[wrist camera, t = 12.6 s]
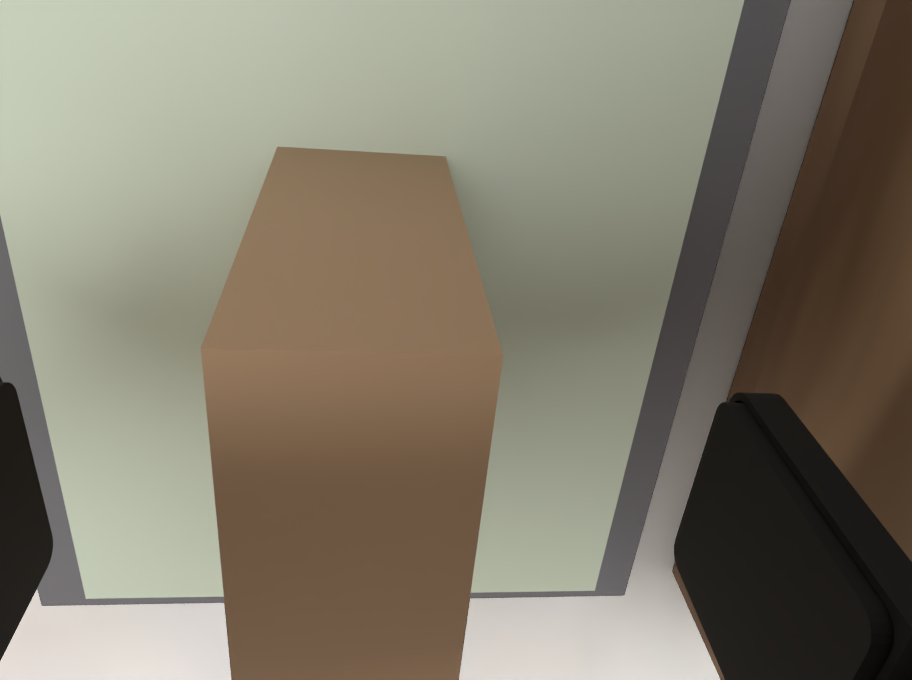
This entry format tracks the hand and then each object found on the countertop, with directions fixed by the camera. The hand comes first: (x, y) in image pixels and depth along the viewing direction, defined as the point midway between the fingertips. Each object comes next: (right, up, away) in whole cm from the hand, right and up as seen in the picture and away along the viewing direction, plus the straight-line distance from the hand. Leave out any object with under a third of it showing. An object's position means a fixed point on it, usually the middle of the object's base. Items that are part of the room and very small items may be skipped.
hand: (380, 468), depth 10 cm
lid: (-1, +3, +6) cm, 7 cm away
